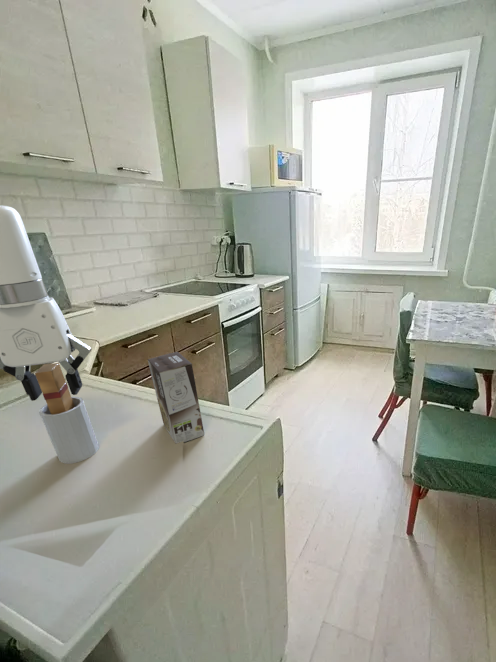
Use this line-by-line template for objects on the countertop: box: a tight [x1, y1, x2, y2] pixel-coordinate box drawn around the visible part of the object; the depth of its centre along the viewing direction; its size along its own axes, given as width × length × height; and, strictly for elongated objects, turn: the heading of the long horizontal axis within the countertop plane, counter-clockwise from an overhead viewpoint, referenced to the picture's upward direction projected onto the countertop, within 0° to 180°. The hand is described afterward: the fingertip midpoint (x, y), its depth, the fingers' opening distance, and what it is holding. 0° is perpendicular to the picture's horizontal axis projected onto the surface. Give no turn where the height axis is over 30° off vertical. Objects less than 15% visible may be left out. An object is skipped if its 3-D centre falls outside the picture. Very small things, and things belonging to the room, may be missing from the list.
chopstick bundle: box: [34, 362, 75, 415], centre depth 65 cm, size 3×4×18 cm, turn 13°
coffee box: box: [147, 351, 205, 444], centre depth 72 cm, size 9×6×16 cm
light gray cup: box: [38, 396, 100, 465], centre depth 67 cm, size 7×7×11 cm
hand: (56, 393), depth 63 cm, fingers open, 5 cm apart
